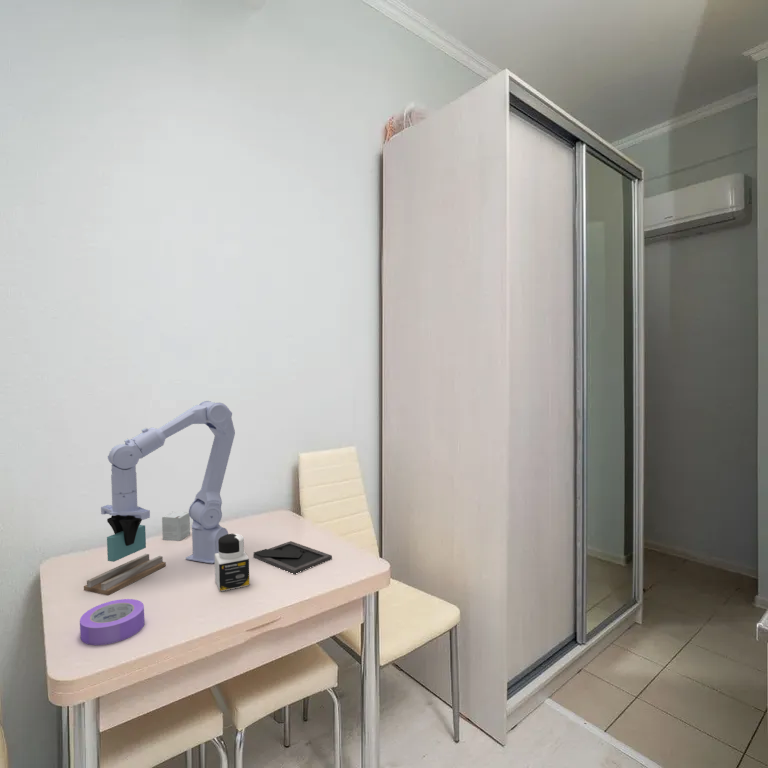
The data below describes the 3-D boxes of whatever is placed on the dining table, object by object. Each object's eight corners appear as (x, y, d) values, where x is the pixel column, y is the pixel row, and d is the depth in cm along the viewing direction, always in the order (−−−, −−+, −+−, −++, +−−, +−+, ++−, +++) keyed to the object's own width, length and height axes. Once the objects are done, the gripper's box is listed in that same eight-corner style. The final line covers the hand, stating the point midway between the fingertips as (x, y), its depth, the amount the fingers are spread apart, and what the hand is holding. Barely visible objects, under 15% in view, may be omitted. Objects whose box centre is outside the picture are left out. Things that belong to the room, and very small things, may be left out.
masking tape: (83, 653, 95) (82, 633, 95) (77, 627, 104) (77, 609, 104) (149, 633, 102) (149, 614, 101) (139, 610, 111) (138, 593, 111)
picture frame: (253, 559, 140) (294, 576, 129) (253, 552, 140) (294, 569, 129) (290, 546, 150) (331, 560, 139) (290, 539, 150) (331, 553, 139)
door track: (165, 565, 135) (165, 556, 135) (108, 595, 118) (108, 584, 118) (143, 562, 138) (142, 553, 138) (83, 590, 121) (83, 580, 121)
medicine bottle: (219, 592, 119) (218, 543, 119) (214, 581, 125) (213, 534, 125) (249, 586, 122) (248, 538, 122) (243, 575, 129) (242, 529, 128)
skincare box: (173, 533, 161) (172, 511, 161) (190, 534, 160) (190, 511, 160) (162, 540, 155) (161, 516, 155) (180, 541, 154) (179, 517, 154)
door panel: (145, 547, 132) (145, 525, 132) (113, 561, 123) (112, 537, 123) (140, 546, 133) (139, 524, 133) (107, 560, 124) (106, 537, 124)
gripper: (89, 493, 126) (91, 545, 127) (133, 497, 121) (134, 552, 121) (113, 486, 133) (115, 536, 133) (155, 490, 127) (157, 543, 128)
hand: (126, 543), depth 128 cm, fingers closed on door panel, 2 cm apart
